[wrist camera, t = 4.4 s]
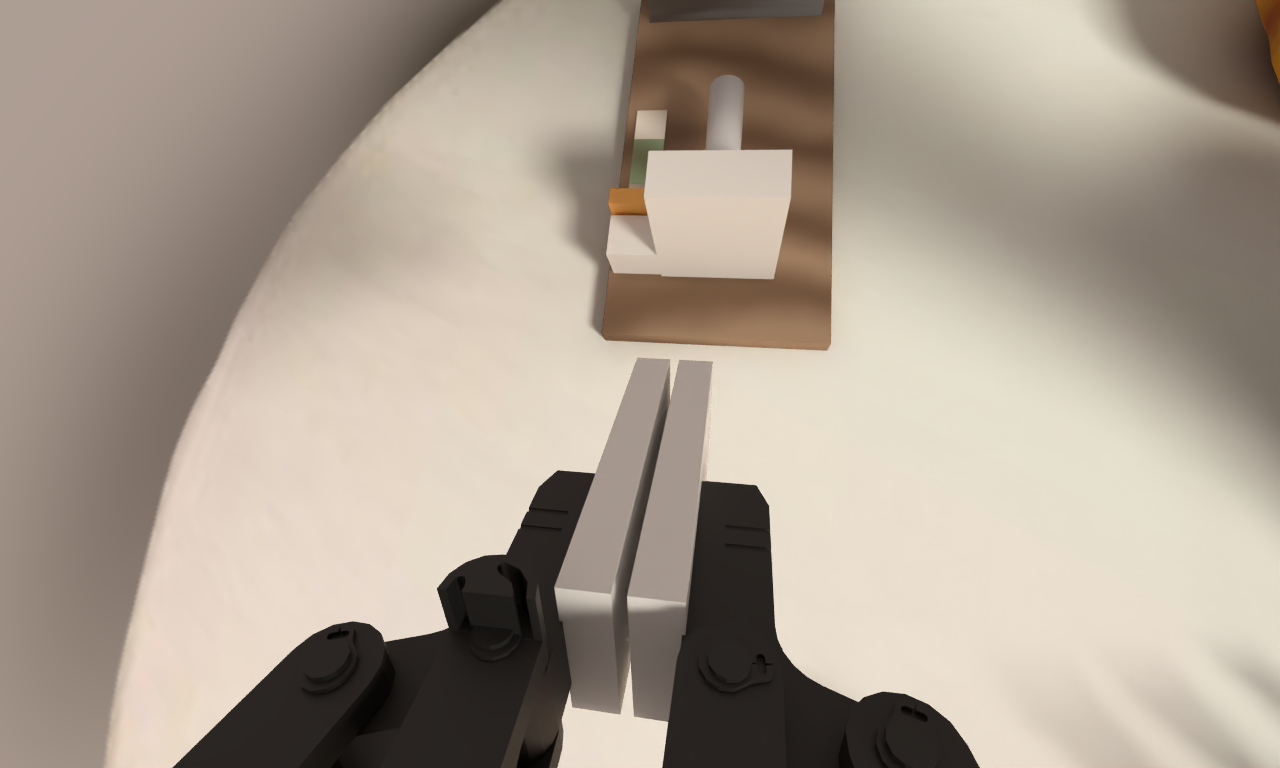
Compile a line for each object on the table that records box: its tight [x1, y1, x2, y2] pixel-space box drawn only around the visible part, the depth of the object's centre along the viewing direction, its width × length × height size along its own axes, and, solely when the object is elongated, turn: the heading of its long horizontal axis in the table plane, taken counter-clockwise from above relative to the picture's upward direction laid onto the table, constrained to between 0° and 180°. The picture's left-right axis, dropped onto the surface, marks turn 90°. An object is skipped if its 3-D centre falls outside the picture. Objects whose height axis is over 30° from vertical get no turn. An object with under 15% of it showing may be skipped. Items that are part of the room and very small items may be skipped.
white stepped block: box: [606, 75, 792, 279], centre depth 37 cm, size 12×12×10 cm
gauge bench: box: [602, 0, 835, 350], centre depth 39 cm, size 33×16×12 cm, turn 174°
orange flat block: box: [608, 188, 648, 216], centre depth 40 cm, size 1×3×4 cm, turn 85°
